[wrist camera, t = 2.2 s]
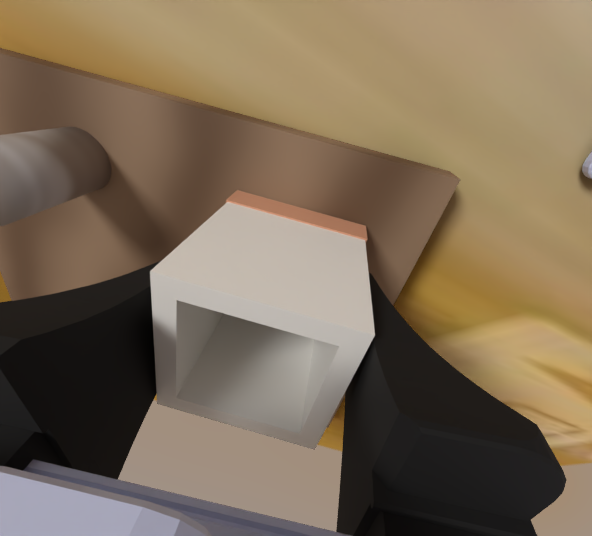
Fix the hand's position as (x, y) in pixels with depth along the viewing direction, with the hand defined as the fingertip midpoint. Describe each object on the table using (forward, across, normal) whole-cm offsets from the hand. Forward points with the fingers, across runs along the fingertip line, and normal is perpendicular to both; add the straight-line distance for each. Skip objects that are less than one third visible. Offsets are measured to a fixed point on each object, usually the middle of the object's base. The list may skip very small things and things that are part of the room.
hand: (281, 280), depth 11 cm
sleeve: (+2, 0, 0) cm, 2 cm away
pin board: (+3, +5, +2) cm, 6 cm away
